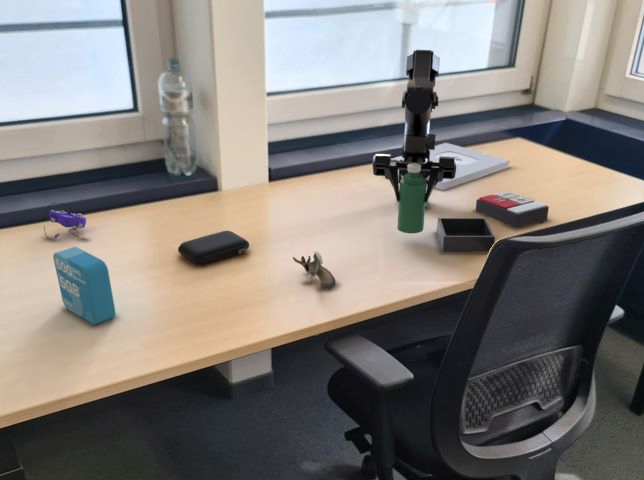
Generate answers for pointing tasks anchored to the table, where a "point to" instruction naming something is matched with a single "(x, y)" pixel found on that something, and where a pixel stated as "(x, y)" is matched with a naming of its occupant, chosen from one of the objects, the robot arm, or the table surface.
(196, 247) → the carrying case
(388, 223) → the table surface
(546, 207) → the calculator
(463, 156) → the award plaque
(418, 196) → the bottle
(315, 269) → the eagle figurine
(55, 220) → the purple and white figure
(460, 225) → the tray
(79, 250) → the data package
